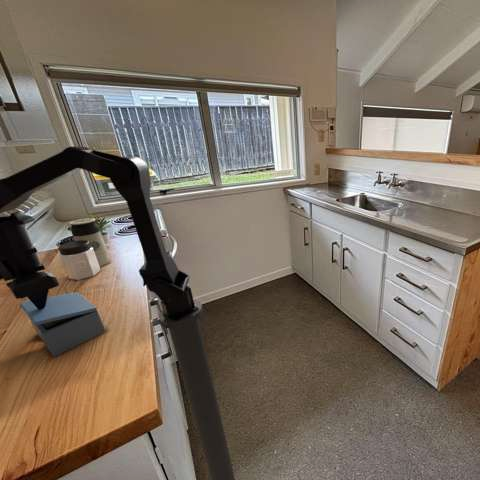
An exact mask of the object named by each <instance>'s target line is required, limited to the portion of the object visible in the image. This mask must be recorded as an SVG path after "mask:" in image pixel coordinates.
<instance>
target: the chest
mask: <svg viewBox="0 0 480 480" xmlns="http://www.w3.org/2000/svg"><path fill="white" fill-rule="evenodd" d="M70 318H71V321H68V322H66V323H63V324H61V325H59V326H56V327H54V328H52V329H49V330H46V329H45V328H44V327H43V325H42V324H40V325H36V326H35V325H34V323H33V322H32V321H31V319H30V318H29V320H30V322H31V324H32V326H33V328H34V330H35V332H36V334H37V336H38V337H39V339H40V340H41V341H42V343H43V344H44V345H45V347H46V348H47V350H48V351H49V352H50V353H51V355H52V356H53V357H56V356H59V355H60V354H63V353H65V352H66V351H69V350H70V349H72V348H75V347H77V346H79V345H81V344H83V343H85V342H87V341H89V340H91V339H93V338H95V337H97V336H99V335H102V334H103V333H106V329H105V328H104V325H103V322H102V319H101V317H100V314H99V311H98V310H97V311H93V312H89V313H85V314H81V315H77V316H73V317H70Z"/></svg>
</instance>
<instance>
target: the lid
mask: <svg viewBox="0 0 480 480" xmlns="http://www.w3.org/2000/svg"><path fill="white" fill-rule="evenodd" d="M19 306H20V308H21V309H22V310H23V311H24V313H25V315H27V317H28V319H29V320H30V319H31V320H30V322H31V321H32V322H33V323H34V325H35V326H36V325H40V324H44V323H48V322H52V321H56V320H60V319H64V318H68V317H73V316H77V315H81V314H85V313H89V312H93V311H98V310H97V309H98V308H97V307H96V306H95V305H94V304H93V303H91V302H90V301H89V300H88V299H87V298H85V297H84V296H83V295H81V294H80V293H79V292H78V291H75V292H68V293H64V294H57V295H53V296H47V301H46V306H45V308H43V309H40V310H39V309H38V308H37V307H36V306H35V305H34V304H33V303H32V302H31V301H30V300H26V301H21V302H19ZM32 322H31V323H32Z"/></svg>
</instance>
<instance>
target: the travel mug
mask: <svg viewBox="0 0 480 480" xmlns="http://www.w3.org/2000/svg"><path fill="white" fill-rule="evenodd" d="M68 224H69V225H70V226H71V231H70V232H71V235H72V238H73V240H74V241H80V240H87V241H89V243H90V246H91V248H93V250H94V252H95V255H96V258H97V261H98V264H99V266H100V267H102V266H103V267H104V266H105V265H107V264H109V263H110V262H111V259H110V256H109V253H108V250H107V248H106V247H105V244H104V241H103V238H102V235H101V233H102V232H100V229H99V227H98V226H99V225H98V226H97V225H96V224H95V219H94V218H91V217H87V218H86V217H85V218H79V219H75V220H71V221H69V222H68Z"/></svg>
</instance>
